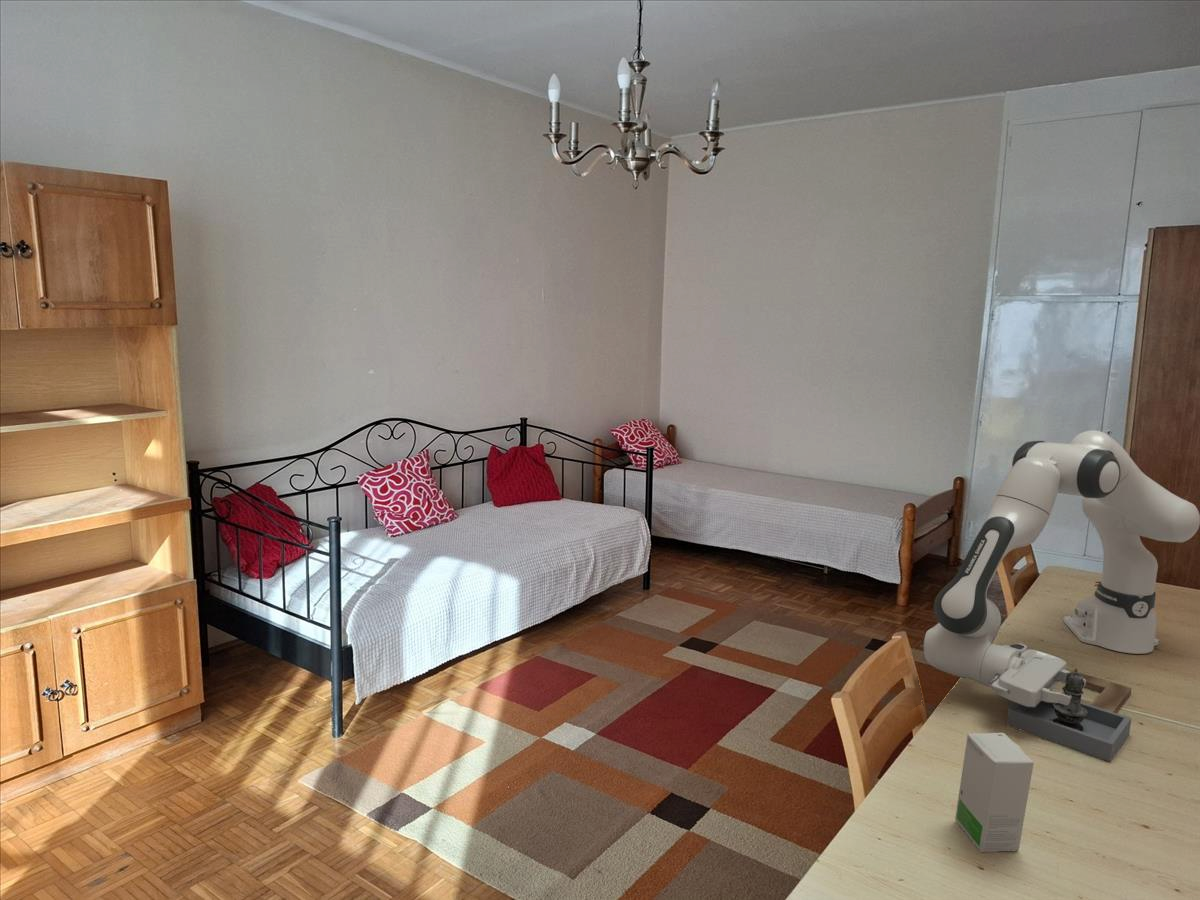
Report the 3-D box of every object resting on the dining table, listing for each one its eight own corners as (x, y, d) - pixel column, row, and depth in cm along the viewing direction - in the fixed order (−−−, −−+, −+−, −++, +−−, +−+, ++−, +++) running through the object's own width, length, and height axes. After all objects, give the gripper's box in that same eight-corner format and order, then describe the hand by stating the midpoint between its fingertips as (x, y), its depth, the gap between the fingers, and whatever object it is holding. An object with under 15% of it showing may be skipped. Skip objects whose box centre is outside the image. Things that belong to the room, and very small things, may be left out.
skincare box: (954, 820, 134) (964, 731, 131) (993, 818, 134) (1003, 730, 131) (981, 855, 125) (993, 761, 123) (1023, 853, 126) (1035, 760, 123)
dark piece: (1089, 735, 159) (1098, 677, 157) (1056, 730, 161) (1064, 673, 158) (1079, 720, 165) (1087, 663, 163) (1047, 716, 166) (1054, 660, 164)
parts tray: (1006, 725, 164) (1008, 708, 163) (1030, 701, 174) (1032, 686, 173) (1109, 762, 152) (1112, 744, 151) (1129, 734, 161) (1131, 717, 161)
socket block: (1012, 692, 178) (1013, 686, 177) (1040, 667, 190) (1041, 661, 190) (1108, 724, 165) (1109, 717, 165) (1130, 694, 178) (1131, 688, 178)
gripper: (985, 670, 162) (1063, 694, 153) (1021, 640, 176) (1094, 661, 167) (982, 699, 163) (1059, 726, 154) (1018, 668, 178) (1090, 690, 168)
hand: (1077, 692), depth 161 cm, fingers open, 8 cm apart
